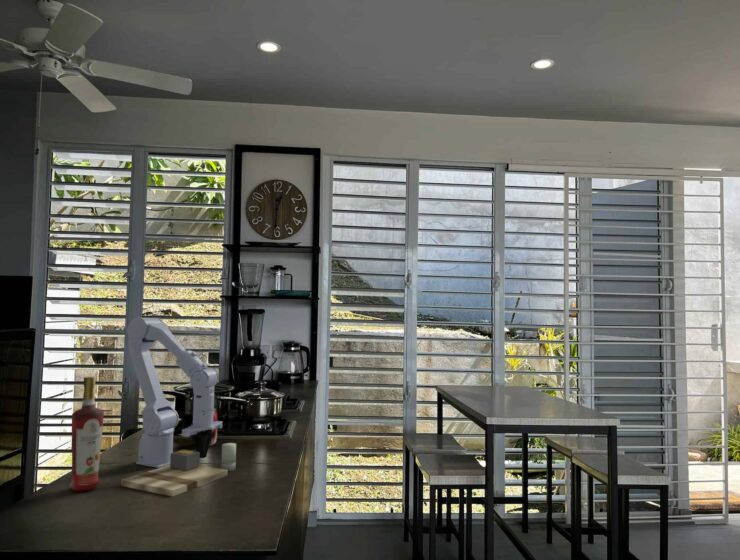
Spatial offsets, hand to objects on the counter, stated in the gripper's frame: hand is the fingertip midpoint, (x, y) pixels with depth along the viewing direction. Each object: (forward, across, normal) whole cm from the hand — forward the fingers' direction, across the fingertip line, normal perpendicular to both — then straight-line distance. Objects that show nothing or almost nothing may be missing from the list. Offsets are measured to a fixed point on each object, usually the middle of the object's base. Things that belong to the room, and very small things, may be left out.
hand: (202, 457), depth 157 cm
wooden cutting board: (+3, -13, -3) cm, 13 cm away
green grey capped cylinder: (+3, +2, -8) cm, 9 cm away
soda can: (+3, +22, +19) cm, 29 cm away
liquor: (+3, -29, +12) cm, 31 cm away
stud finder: (+1, -7, 0) cm, 7 cm away
